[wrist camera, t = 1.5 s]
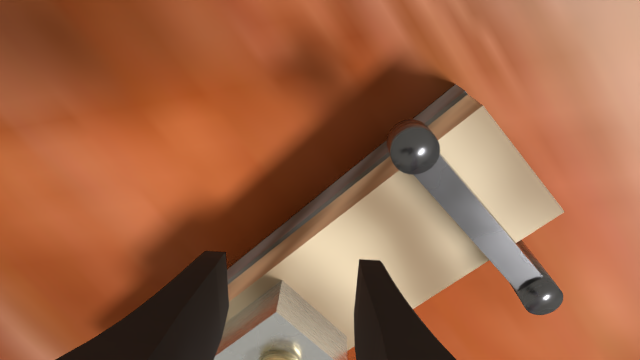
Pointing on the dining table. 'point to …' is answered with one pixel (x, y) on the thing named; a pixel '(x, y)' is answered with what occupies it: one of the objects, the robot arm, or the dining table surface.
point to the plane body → (397, 221)
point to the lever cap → (281, 331)
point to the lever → (472, 215)
